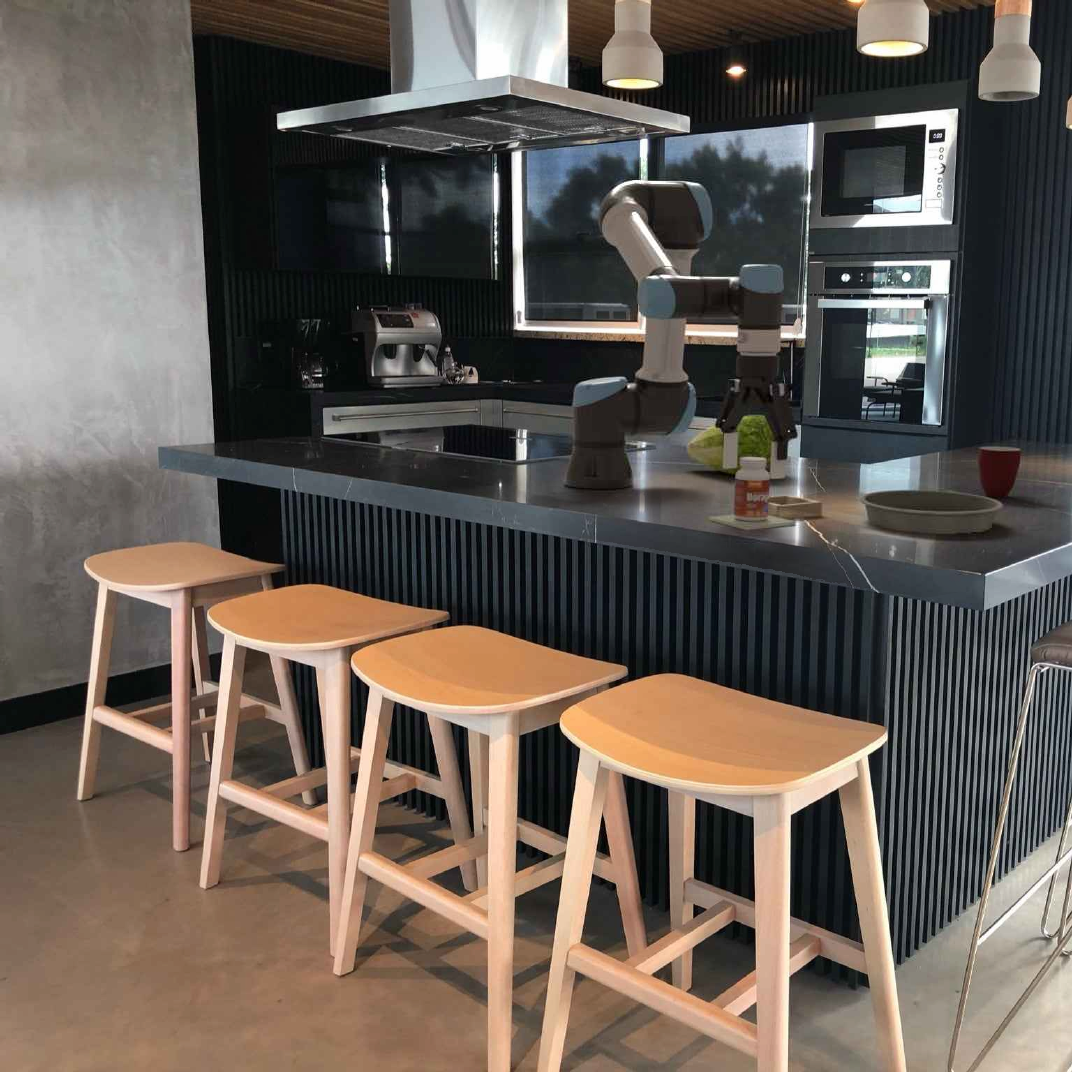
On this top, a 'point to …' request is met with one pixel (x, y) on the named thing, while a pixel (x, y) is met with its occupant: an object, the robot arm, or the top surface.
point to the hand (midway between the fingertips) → (752, 473)
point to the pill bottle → (752, 490)
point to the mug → (998, 470)
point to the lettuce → (750, 444)
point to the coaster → (752, 522)
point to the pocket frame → (793, 507)
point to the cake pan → (930, 511)
